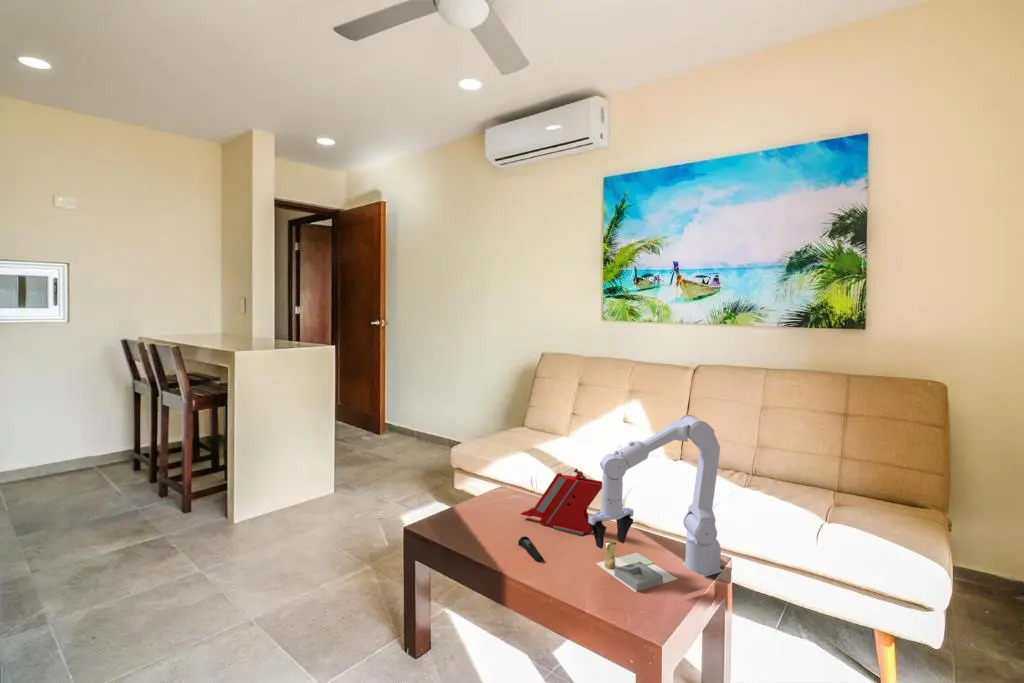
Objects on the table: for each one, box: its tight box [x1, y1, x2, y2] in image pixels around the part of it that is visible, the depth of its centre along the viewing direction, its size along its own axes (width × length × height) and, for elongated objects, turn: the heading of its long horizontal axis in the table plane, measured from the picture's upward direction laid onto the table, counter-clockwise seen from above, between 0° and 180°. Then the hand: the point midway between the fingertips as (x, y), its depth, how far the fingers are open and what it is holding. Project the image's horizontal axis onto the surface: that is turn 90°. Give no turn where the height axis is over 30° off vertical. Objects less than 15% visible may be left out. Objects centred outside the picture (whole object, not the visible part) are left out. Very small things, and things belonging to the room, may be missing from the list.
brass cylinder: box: [604, 539, 617, 569], centre depth 148 cm, size 3×3×7 cm
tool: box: [520, 467, 602, 537], centre depth 175 cm, size 27×6×27 cm, turn 64°
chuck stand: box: [595, 552, 678, 593], centre depth 146 cm, size 15×17×3 cm
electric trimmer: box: [517, 536, 544, 562], centre depth 158 cm, size 4×15×3 cm, turn 19°
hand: (610, 544), depth 148 cm, fingers open, 7 cm apart
